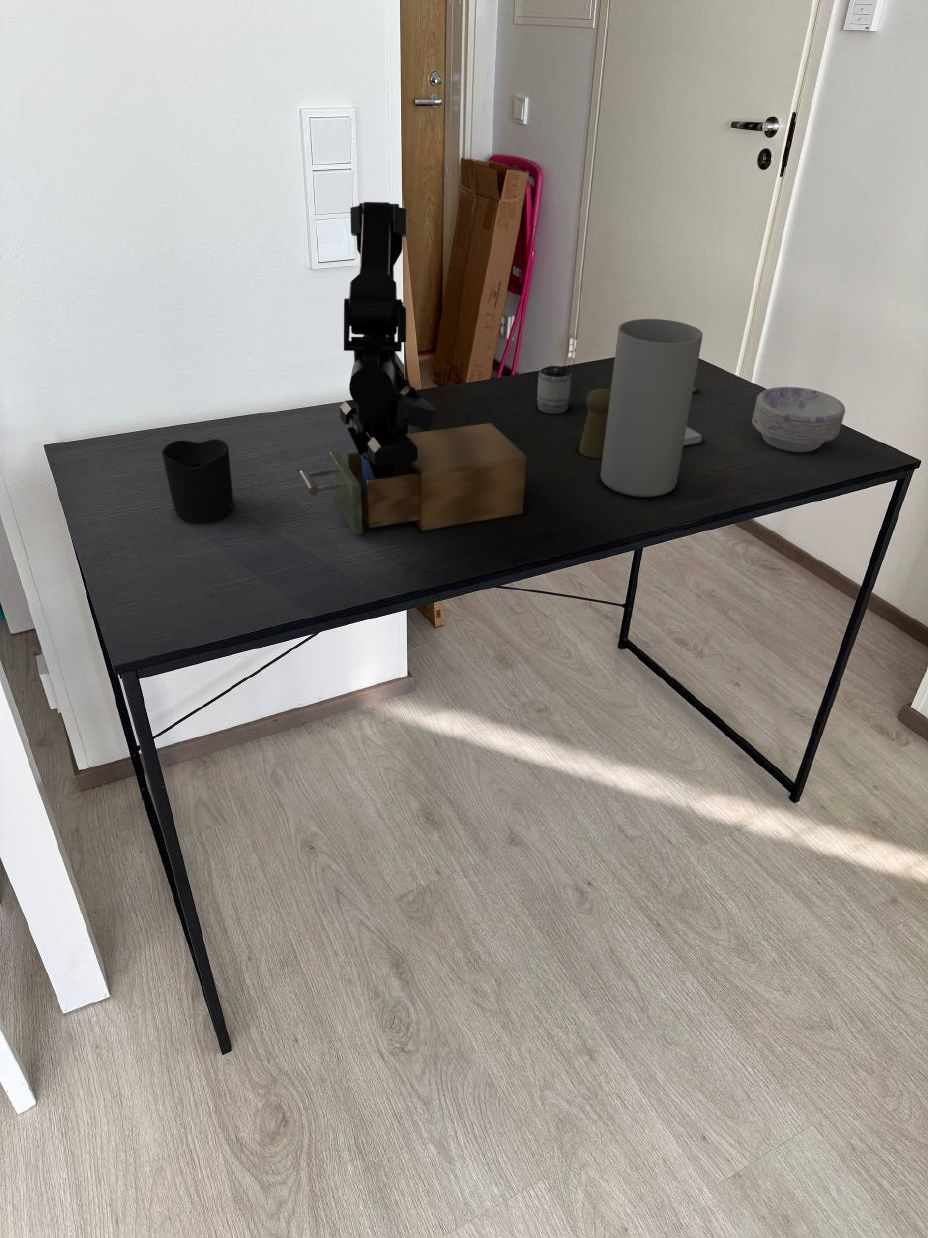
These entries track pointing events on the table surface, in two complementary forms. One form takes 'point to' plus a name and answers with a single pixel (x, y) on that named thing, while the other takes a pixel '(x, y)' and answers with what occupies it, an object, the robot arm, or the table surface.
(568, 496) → the table surface
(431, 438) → the cabinet
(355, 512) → the drawer
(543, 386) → the camera lens
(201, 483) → the pen holder
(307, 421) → the table surface
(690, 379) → the cylinder vase
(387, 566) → the table surface
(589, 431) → the cork
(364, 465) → the cup
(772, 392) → the paper bowls
